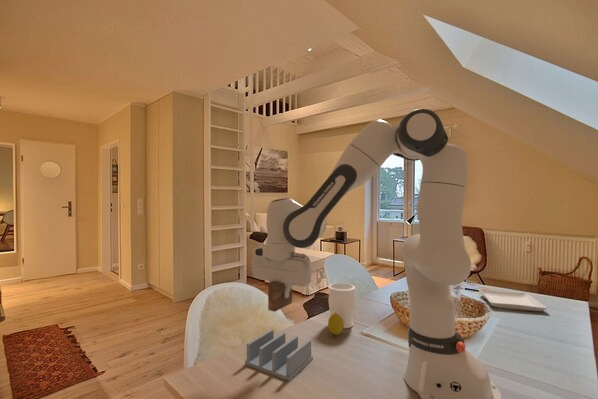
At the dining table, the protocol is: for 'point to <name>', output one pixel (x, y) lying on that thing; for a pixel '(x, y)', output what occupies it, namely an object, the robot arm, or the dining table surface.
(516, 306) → the salad plate
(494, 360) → the dining table surface
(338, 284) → the jar
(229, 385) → the dining table surface
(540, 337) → the dining table surface
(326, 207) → the robot arm
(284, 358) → the rack
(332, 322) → the lemon
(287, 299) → the board
